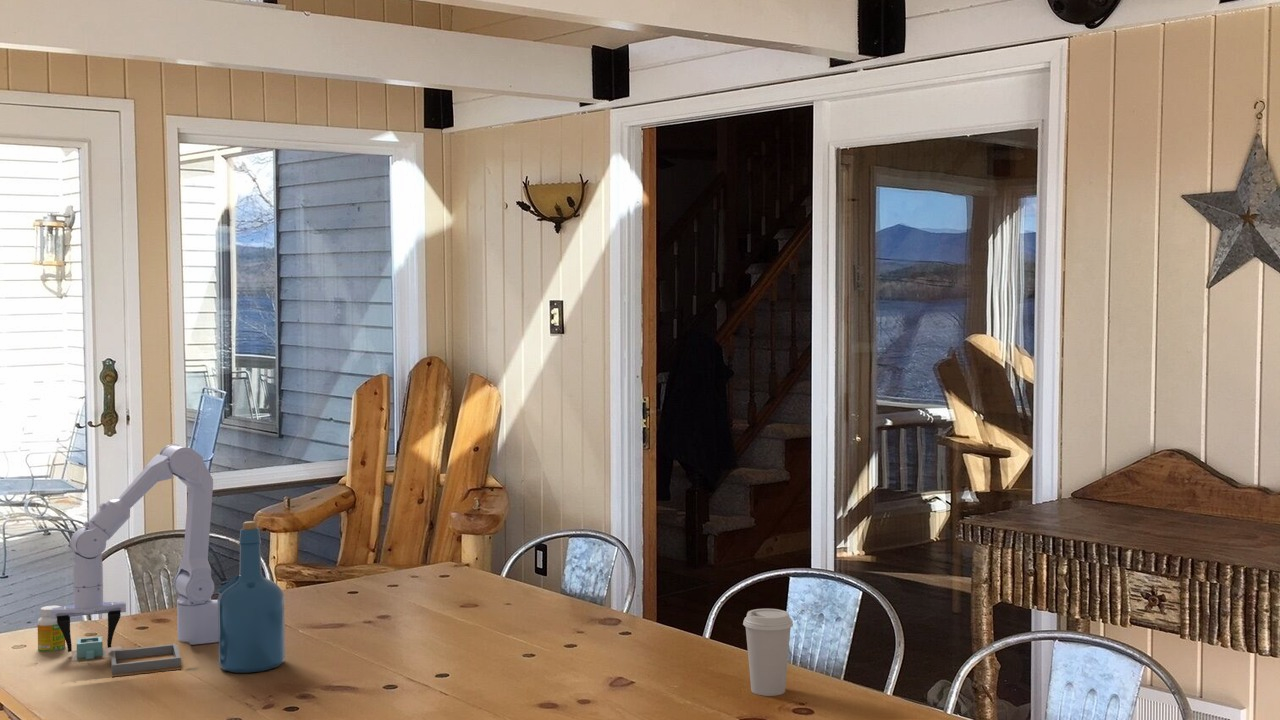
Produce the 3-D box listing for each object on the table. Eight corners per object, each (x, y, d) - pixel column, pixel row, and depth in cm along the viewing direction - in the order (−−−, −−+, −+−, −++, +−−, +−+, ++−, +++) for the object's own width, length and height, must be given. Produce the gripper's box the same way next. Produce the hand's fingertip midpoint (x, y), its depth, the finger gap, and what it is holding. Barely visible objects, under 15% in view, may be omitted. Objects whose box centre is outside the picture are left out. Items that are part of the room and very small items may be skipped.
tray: (176, 655, 266) (176, 643, 266) (181, 669, 255) (180, 657, 255) (110, 662, 260) (110, 650, 260) (112, 677, 249) (111, 665, 249)
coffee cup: (739, 684, 242) (739, 608, 242) (787, 682, 243) (787, 606, 243) (747, 699, 233) (747, 620, 232) (798, 697, 234) (797, 618, 233)
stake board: (122, 649, 271) (122, 633, 271) (123, 659, 263) (123, 643, 263) (71, 654, 267) (71, 638, 267) (71, 665, 259) (71, 648, 259)
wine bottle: (298, 660, 262) (296, 518, 261) (259, 677, 249) (256, 528, 248) (243, 654, 266) (241, 515, 265) (202, 671, 254) (200, 525, 253)
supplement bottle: (54, 655, 266) (53, 610, 266) (32, 654, 267) (31, 609, 267) (70, 649, 271) (69, 605, 271) (49, 648, 272) (48, 604, 272)
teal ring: (102, 650, 267) (102, 636, 267) (102, 657, 261) (102, 643, 261) (76, 652, 265) (76, 638, 265) (76, 660, 259) (76, 646, 259)
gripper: (50, 592, 257) (51, 657, 257) (125, 585, 263) (127, 649, 263) (50, 585, 263) (52, 648, 264) (124, 579, 269) (126, 641, 270)
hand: (89, 648), depth 264 cm, fingers open, 7 cm apart
